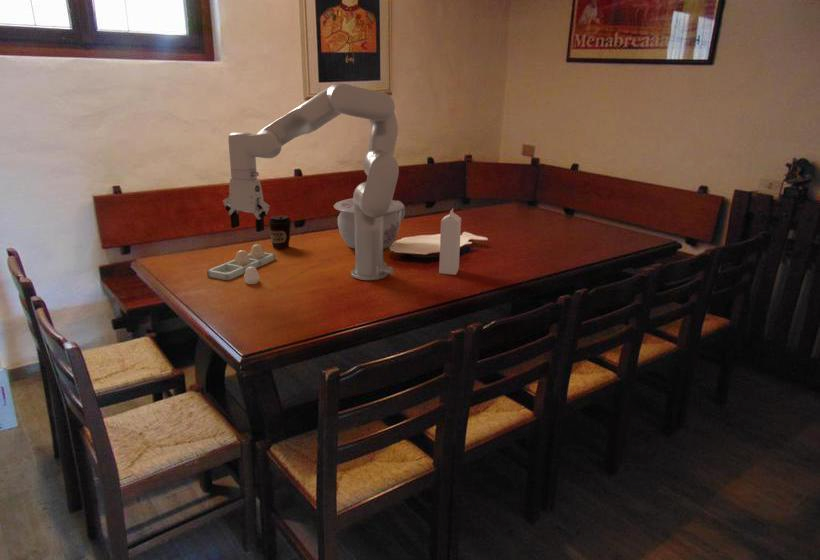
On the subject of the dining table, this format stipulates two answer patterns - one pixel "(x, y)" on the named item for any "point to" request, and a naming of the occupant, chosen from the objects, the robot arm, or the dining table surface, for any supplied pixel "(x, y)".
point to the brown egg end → (256, 252)
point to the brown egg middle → (242, 258)
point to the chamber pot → (389, 222)
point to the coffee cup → (280, 231)
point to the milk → (450, 244)
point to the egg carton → (237, 267)
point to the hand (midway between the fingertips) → (247, 229)
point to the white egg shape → (251, 275)
